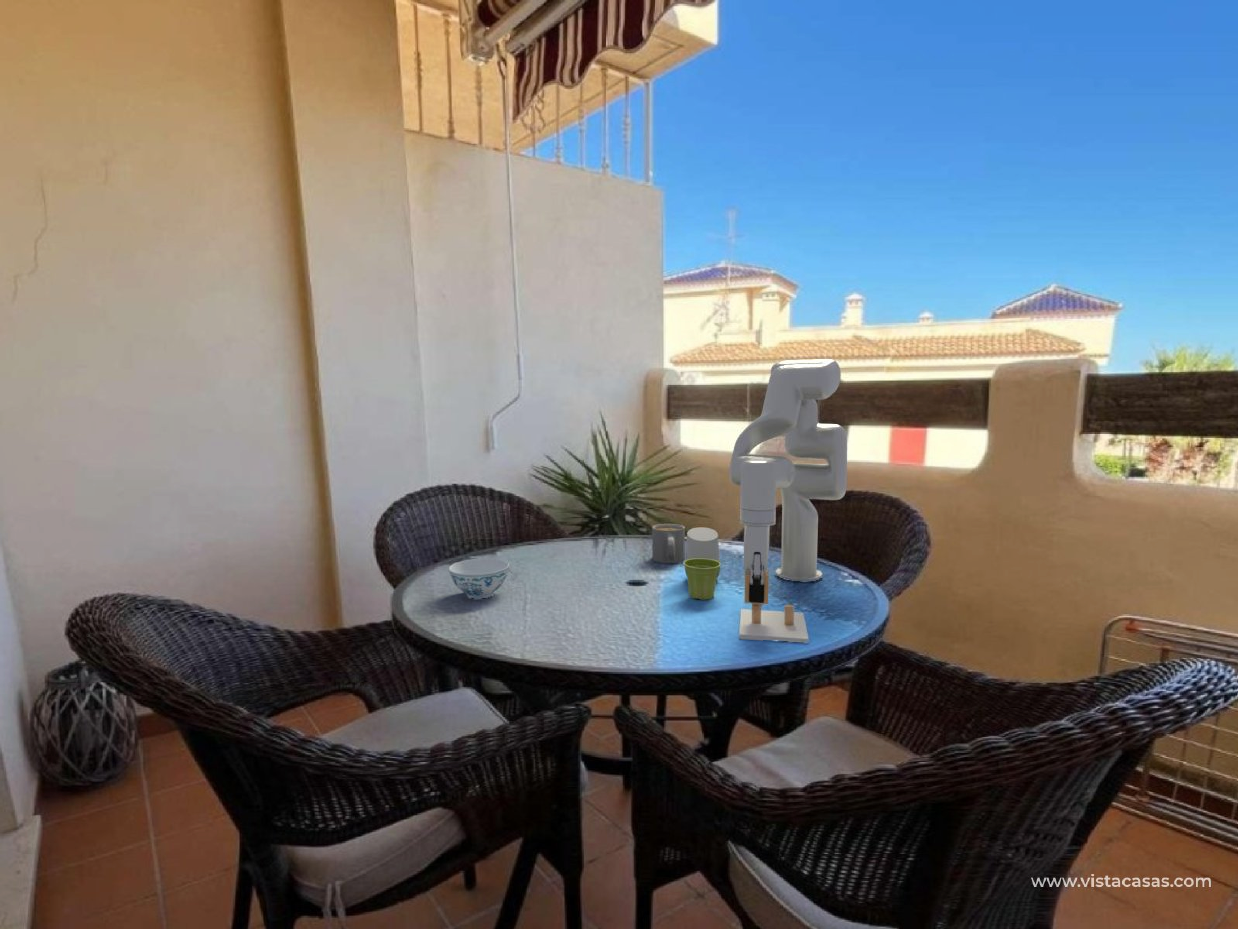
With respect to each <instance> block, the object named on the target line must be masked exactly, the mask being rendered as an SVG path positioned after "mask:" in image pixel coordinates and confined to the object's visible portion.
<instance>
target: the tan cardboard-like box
mask: <svg viewBox="0 0 1238 929" xmlns="http://www.w3.org/2000/svg"><path fill="white" fill-rule="evenodd" d="M750 570H751V568H750V569H747V571H745V570H744V604H761V605H769V582H770V580H769V579H770V578H769V577H770V575H769V570H768V569H767V570H766V571H764V573H763V584H764V603H754V602H749V583H750V574H751V572H750ZM752 570H754V569H752ZM753 574H754V573H753ZM760 575H761V573H760Z"/></svg>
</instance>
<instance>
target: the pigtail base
mask: <svg viewBox="0 0 1238 929" xmlns="http://www.w3.org/2000/svg"><path fill="white" fill-rule="evenodd" d="M739 620H740V621H739V630H738V632H739V633H738V634H739V635H738V639H739V640H751V641H752V640H753V641H763V640H778V641H788V642H787V643H793V642H808V643H809V634H808V630H807V624H806V619H805V615H804V612H801V611H800V612H799V611H798V612H797V611H795V606H794V605H792V604H786V605H784V611H781V610H780V611H779V610H764V609H762V604H753V603H751V609H746V608H741V609H740V619H739ZM778 641H777V642H778Z"/></svg>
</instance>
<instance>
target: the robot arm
mask: <svg viewBox="0 0 1238 929" xmlns="http://www.w3.org/2000/svg"><path fill="white" fill-rule="evenodd" d="M841 378H842V373H841V368H840V365H839V364H838V362H837V360H835V359H830V358H829V359H822V358H821V359H791V360H782V361H781V360H780V361H778V362H775V363H774V364H773V365H772V366H771V369H770V375H769V379H768V384H767V388H766V390H765V391H766V392H765V396H764V402H763V406H762V410H761V415H760V416H759V417H757V418H756V419H755V420H753V421H752V422H751V423H750V424H749V425H747V427H746V428H745V429H744V430H742V431H741V433H740V434H739V435H738V437H737V439H736V441H735V443H734V447H733V449H732V454H731V458H730V462H729V469H728V470H729V474H728V475H729V479H730V480H731V483H732V484H734V485H735V486H737V487H740V495H739V496H740V503H739V506H740V509H739V512H740V513H739V519H740V520H739V523H740V524H741V525H744V534H743V570H744V572H745V571H747V569H751V570H750V572H751V574H750V583H749V602H754V603H764V584H763V573H764V571H766V570H768V562H769V554H770V553H769V552H770V529H771V528H770V527H771V526H775V525H776V516H777V515H776V511H777V510H776V508H777V490H780V494H781V495H780V496H781V508H782V509H781V510H782V511H781V512H782V513H781V516H782V517H781V558H780V560H781V561H780V562H781V565H780V566H781V567H778V568H777V569H776V570H775V573H776V574H775V576H776V575H777V576H779V577H780V578H779V579H781V578H785V579H789V580H794V581H813V580H817V579H819V578H822V579H823V572H822V571H821V570H819V569H817V567H818V566H817V565H818V533H819V532H818V529H819V525H818V524H819V513H818V510H817V508H816V507H815V506H814V504H813V503H812V502H811V500H825V501H827V500H828V501H838V500H841V499H842V498H844V497H845V494H846V491H847V482H848V480H847V479H848V437H847V432H846V430H845V428H844V427H843V426H841V425H840V424H835V423H820V422H819V420H818V419H819V418H818V414H819V413H818V412H819V409H818V408H819V406H818V403H817V400H820V401H821V400H826V399H828V398H830V397H831V396H832V395H833V394H834V393H835V392H836V391H837V390H838V387H839V386H840V383H841ZM782 435H784V445H785V446H784V447H785V451H786V454H787V455H788V456H789V457H791V458H794V459H801V460H803V459H805V460H824V461H826V462H827V463H809V462H808V463H807V462H806V463H805V462H792V460H791V459H790V458H788V457H785V456H783V455H782V456H781V455H767V454H751V452H752V451H753V450H754V449H755V448H756V447H757V446H758V445H760V444H762V443H764V442H767V441H769V440H772V439H775V438H777V437H780V436H782ZM752 569H754V570H752ZM753 573H754V574H753ZM760 573H761V575H760ZM777 576H776V577H777Z"/></svg>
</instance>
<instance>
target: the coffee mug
mask: <svg viewBox="0 0 1238 929" xmlns="http://www.w3.org/2000/svg"><path fill="white" fill-rule="evenodd" d="M651 530H652V532H651V533H652V537H651V541H652V543H651V546H652V548H651V549H652V552H651V553H652V560H653V561H654V562H656V563H661V564H678V563H682V562H684V561H685V555H686V544H685V543H686V542H685V540H686V538H685V537H686V532H685V531H686V529H685V526H684V525H681V524H678V523H677V524H676V523H660V524H655V525H652V529H651Z"/></svg>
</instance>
